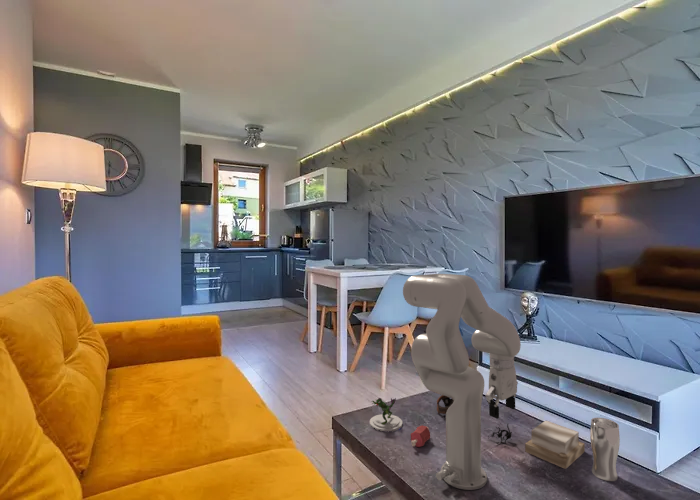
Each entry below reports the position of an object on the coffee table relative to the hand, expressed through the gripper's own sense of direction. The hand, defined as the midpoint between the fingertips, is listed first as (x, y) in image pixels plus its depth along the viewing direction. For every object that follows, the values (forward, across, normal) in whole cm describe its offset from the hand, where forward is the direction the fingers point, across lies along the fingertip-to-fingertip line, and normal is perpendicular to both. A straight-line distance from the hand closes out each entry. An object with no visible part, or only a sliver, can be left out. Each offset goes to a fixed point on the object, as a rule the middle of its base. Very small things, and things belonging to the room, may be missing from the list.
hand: (502, 412), depth 129 cm
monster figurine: (+9, -23, +33) cm, 41 cm away
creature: (+10, -2, 0) cm, 10 cm away
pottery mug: (+10, +2, +24) cm, 26 cm away
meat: (+9, -23, +16) cm, 29 cm away
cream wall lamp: (+10, +6, -14) cm, 18 cm away
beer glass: (+10, +5, -28) cm, 30 cm away
